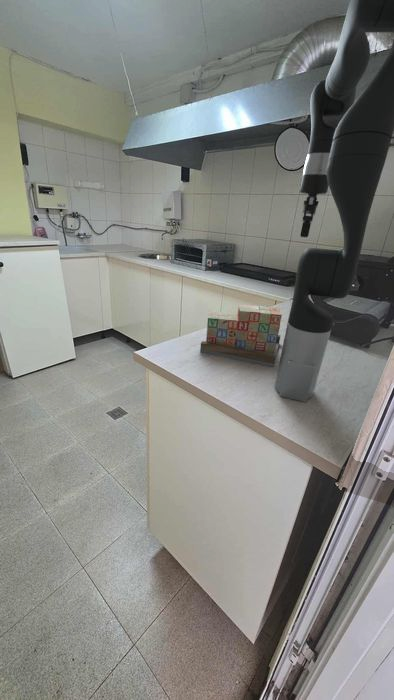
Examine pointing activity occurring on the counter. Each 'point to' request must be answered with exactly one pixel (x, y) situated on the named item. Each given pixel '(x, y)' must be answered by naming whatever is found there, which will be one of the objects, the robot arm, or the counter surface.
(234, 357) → the tray
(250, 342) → the stack of blocks
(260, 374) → the counter surface
